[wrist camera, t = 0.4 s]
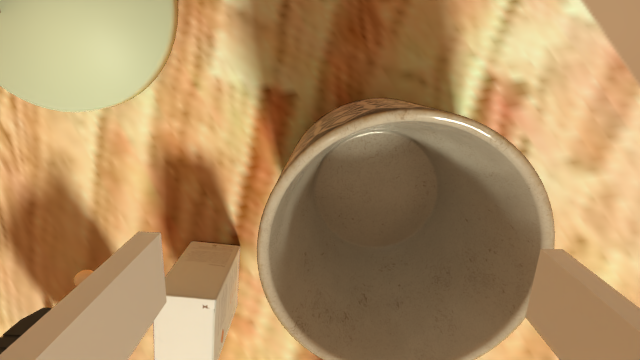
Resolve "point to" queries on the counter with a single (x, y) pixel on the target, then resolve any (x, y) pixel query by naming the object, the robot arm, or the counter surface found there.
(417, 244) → the planter
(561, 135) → the counter surface
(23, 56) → the turntable
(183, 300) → the small box
